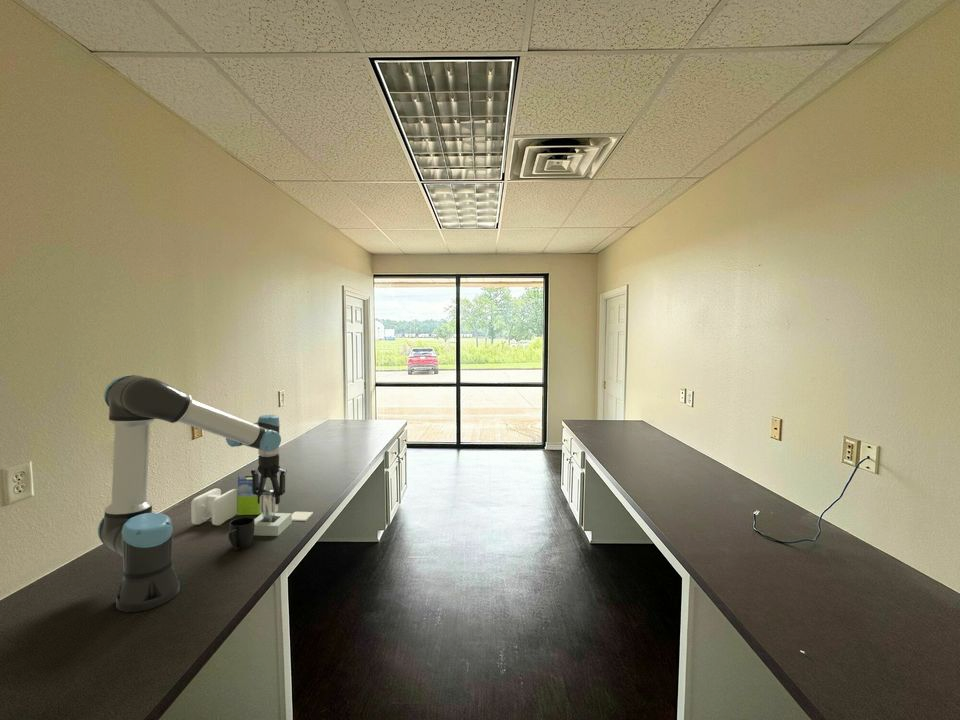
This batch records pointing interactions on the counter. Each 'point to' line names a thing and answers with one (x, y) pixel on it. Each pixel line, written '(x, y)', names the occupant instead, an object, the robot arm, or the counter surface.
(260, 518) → the housing
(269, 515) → the brushed metal cylinder
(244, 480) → the box
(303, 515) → the coaster
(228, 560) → the counter surface
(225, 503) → the cable organizer
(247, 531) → the mug
